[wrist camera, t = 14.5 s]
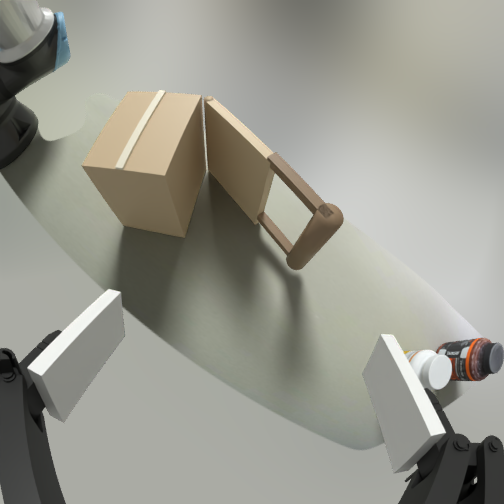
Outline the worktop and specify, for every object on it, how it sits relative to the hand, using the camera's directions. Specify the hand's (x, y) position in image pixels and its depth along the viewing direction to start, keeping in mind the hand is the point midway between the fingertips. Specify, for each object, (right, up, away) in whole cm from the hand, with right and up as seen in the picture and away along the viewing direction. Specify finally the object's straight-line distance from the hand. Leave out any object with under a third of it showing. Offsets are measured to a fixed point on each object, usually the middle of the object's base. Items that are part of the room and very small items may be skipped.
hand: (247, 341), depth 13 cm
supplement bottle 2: (+30, -13, +20) cm, 38 cm away
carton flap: (0, +9, +24) cm, 26 cm away
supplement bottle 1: (+20, -12, +19) cm, 30 cm away
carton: (-12, +12, +24) cm, 29 cm away
